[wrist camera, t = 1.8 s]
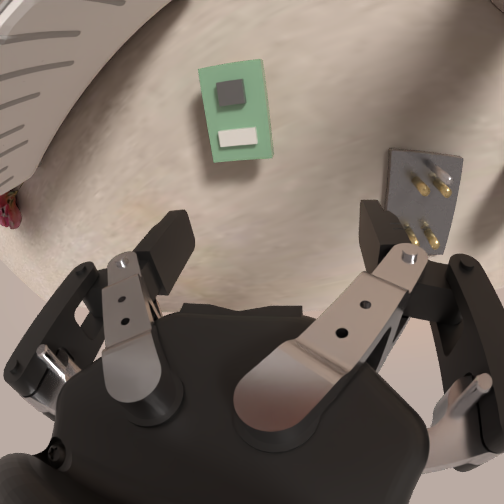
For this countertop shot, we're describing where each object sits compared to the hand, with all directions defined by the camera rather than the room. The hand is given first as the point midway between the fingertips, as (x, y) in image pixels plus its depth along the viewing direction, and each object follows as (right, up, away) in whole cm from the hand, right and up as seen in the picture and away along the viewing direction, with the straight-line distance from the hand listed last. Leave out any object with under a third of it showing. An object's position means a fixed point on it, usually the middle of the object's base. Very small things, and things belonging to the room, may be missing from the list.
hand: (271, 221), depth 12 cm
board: (-2, +13, +12) cm, 18 cm away
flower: (-51, +11, +29) cm, 60 cm away
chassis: (+20, +5, +17) cm, 27 cm away
